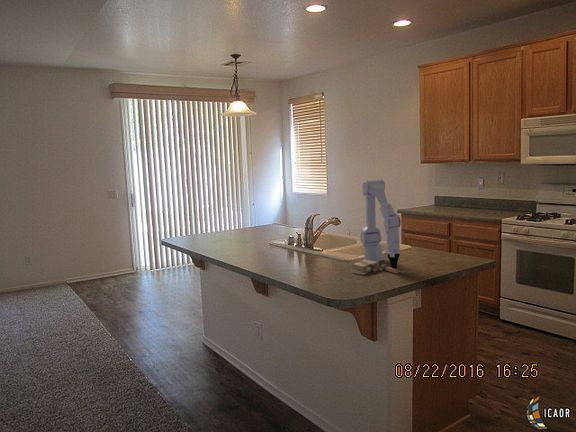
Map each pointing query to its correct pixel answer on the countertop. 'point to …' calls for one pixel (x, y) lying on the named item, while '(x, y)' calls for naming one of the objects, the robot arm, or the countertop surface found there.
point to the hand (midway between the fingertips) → (394, 269)
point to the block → (365, 266)
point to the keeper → (389, 269)
